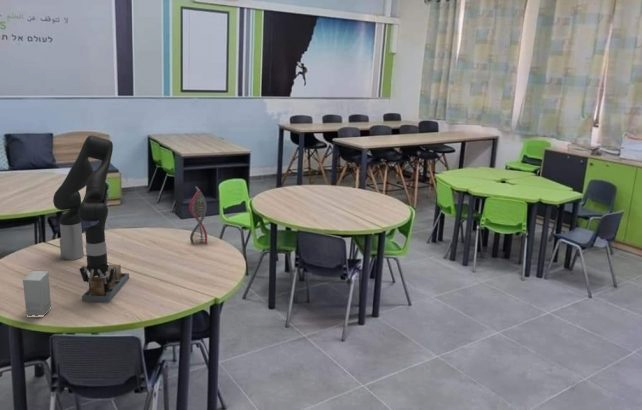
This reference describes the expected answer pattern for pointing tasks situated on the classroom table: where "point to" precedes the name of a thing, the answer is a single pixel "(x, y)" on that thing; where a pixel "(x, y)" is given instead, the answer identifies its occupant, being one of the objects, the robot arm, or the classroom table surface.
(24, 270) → the classroom table surface
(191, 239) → the dna model
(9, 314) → the classroom table surface
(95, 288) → the block
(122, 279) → the tray
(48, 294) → the skincare box
